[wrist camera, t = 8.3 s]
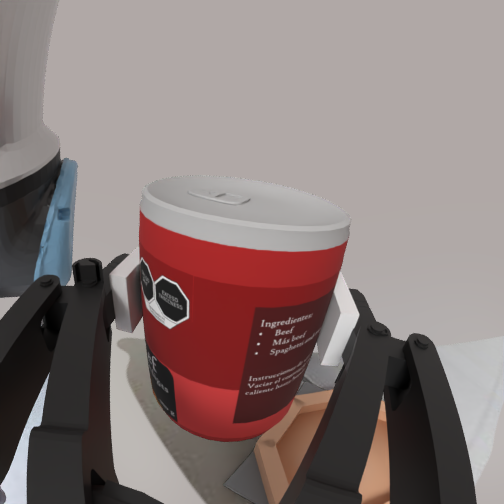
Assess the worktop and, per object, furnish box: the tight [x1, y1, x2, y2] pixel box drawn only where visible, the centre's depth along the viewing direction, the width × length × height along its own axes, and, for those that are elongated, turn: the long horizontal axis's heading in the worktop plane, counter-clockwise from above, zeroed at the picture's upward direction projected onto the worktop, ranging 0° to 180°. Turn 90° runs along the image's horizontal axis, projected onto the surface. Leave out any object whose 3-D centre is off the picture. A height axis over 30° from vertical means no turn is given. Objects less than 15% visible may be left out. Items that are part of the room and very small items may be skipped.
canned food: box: [139, 176, 351, 442], centre depth 13 cm, size 8×8×11 cm
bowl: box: [254, 389, 390, 504], centre depth 20 cm, size 16×16×2 cm
